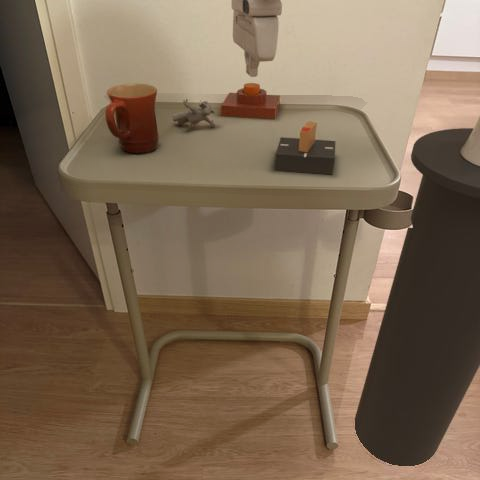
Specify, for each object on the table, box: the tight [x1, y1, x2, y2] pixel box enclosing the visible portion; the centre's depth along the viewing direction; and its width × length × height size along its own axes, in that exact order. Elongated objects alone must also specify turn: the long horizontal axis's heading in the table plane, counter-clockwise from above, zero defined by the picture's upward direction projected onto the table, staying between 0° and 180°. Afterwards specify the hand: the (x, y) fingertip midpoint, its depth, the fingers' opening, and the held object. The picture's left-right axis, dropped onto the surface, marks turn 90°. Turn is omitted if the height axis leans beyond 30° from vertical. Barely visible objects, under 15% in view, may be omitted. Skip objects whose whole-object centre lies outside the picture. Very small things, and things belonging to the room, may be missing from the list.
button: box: [243, 82, 261, 94], centre depth 103 cm, size 4×4×2 cm
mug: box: [104, 83, 159, 155], centre depth 84 cm, size 12×9×10 cm
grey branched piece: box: [172, 97, 217, 132], centre depth 95 cm, size 10×6×9 cm
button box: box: [220, 87, 281, 120], centre depth 105 cm, size 12×10×4 cm
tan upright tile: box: [298, 121, 317, 152], centre depth 80 cm, size 5×2×4 cm, turn 159°
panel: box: [274, 136, 336, 176], centre depth 83 cm, size 10×9×3 cm
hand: (251, 75), depth 101 cm, fingers closed
